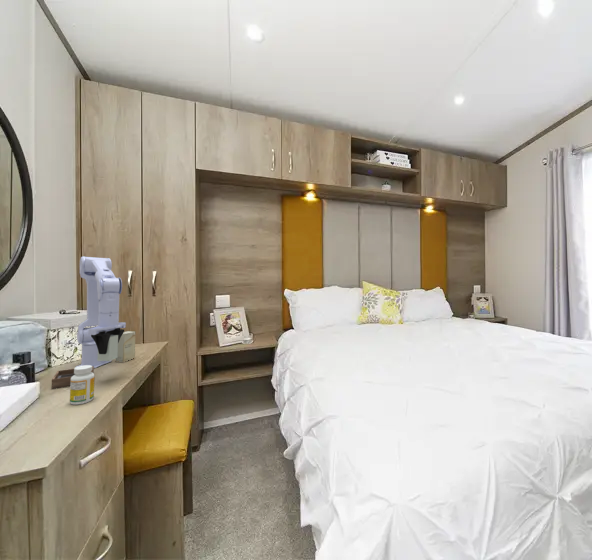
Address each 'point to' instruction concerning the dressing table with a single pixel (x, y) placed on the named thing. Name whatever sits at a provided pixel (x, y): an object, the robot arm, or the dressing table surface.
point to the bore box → (63, 378)
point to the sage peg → (110, 350)
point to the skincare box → (126, 347)
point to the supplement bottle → (82, 385)
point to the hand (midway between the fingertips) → (107, 352)
